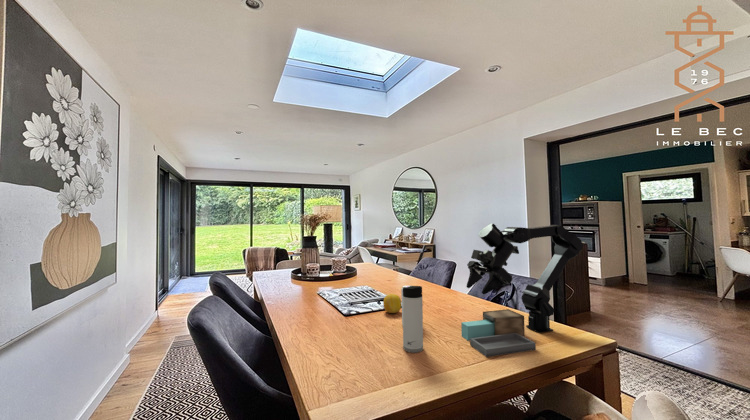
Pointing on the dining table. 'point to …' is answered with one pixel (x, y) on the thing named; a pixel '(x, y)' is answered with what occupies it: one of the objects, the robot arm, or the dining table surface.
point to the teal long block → (477, 329)
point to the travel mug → (412, 319)
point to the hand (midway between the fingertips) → (474, 290)
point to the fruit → (392, 303)
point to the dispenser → (506, 321)
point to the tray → (502, 344)
